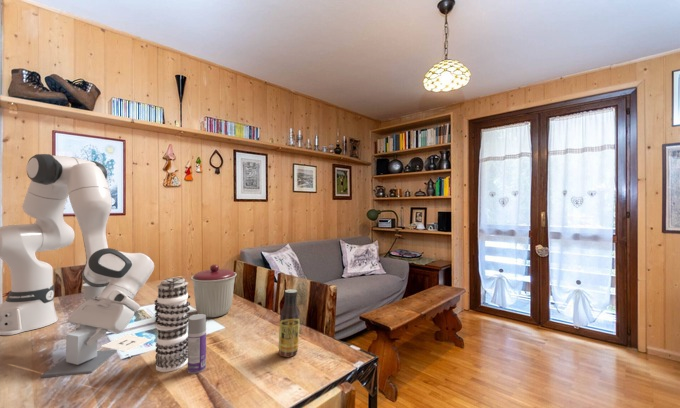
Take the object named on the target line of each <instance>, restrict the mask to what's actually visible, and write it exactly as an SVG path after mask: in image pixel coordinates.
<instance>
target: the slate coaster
mask: <svg viewBox="0 0 680 408" xmlns="http://www.w3.org/2000/svg"><path fill="white" fill-rule="evenodd" d="M117 351H118V350H116V349H109V350H97V356H96V357H94V358H92V359H90V360H87V361H85V362H83V363H81V364H79V365H77V364H73V363H69V362H66V357H65V358H64V359H62V360H61V361H59V362H58V363H56V364H55V365H53V366H51V368H49V369H48V370H46V371H45V372H43V373H42V374H41V375H40V377H41V378H40V379H44V378H45V379H46V378H54V377H55V378H56V377H59V376H73V375H85V374H93V372H95V371H96V370H97V369H98V368H100V366H102V365H103V364H104V363H105V362H106V361H108V360H109V359H110V358H111V357H112V356H113V355H114V354H116V353H117Z"/></svg>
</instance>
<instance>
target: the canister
mask: <svg viewBox="0 0 680 408" xmlns="http://www.w3.org/2000/svg"><path fill="white" fill-rule="evenodd" d="M236 277H237V272H235V271H234V270H232V269H226V268H220V266H219V265H218V264H212V265H210V267H209V269H206V270H201V271H198V272H196V273H195V274H194V275H192V276H191V277H190V279H191V280H192V284H193V294H194V302H195V308H196V313H197V314H205V315H206V319H207V318H218V317H221V316H225V315H226V314H228V313H229V311H230V310H231V308H232V306H233V305H232V303H233V298H234V288H235V280H236Z"/></svg>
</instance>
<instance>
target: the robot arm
mask: <svg viewBox="0 0 680 408" xmlns="http://www.w3.org/2000/svg"><path fill="white" fill-rule="evenodd" d="M26 175H27V177H28V178H29V180H30V183H29V185H28V188H27V192H26V194H25V197H24V199H23V203H22V206H21V207H22V210H23V212H24V213H25V214H26V215H27V216H29V217H30V218H33V219H36V220H35V222H34V223H28V224H8V225H3V226H0V259H1V260H2V261H3V262H4V263H5V264H6V265H7V267H8V269H9V272H10V280H11V281H10V283H11V284H10V285H11V289H10V290H9V291H8V292H5V293H2V298H4V297H6V298H5V301H3V302H2V303H1V304H0V336H13V335H16V334H20V333H23V332H27V331H33V330H36V329H40V328H44V327H47V326H49V325H52V324H54V323H56V322H57V321H58V320H59V318H58V316H57V311H56V307H55V303H54V297H55V285H54V283H53V282H54V281H53V280H54V267H53V266H52V265H51V264H50V263H48V262H46V261H43V260H39V259H38V258H37V256H36V253H38V252H39V253H40V252H47V251H55V250H59V249H63V248H65V247H69V246H70V245H72V244H73V243H74V241H75V236H76V234H75V233H76V232H75V230H74V229H73V227H72V226H70V225H69V224H68V223H67V222H66V221H65V218H64V211H65V207H66V203H67V200H68V199H69V202H70V205H71V208H72V211H73V214H74V216H75V217H76V218H75V219H76V221H77V223H78V226H79V228H80V231H81V234H82V240H83V247H84V253H85V258H86V262H85V265H84V267H83V270H82V274H81V275H82V279H83V281H84V284H85V283H87V284H88V285H90V286H92V287H105V286H106V287H105V289H104V290H103V291H102V292H101V293H100V295H99V296H98V297H93V298H91V299H89V300H87V301H86V300H85V301H83V303H81V304H80V305H79V306H78V307H77V308H76V309H75V310H74V311H73V312H72V313H71V314H70V315H69V316H68V319H67V322H68V323H70V324H71V325H74V328H73V331H72V332H74V331H76V330H79V329H82V328H85V327H88V328H93V329H97V330H96V333H95V334H94V335H93V336H92V337H90V338H89V337H88V338H87V340H86V341H85V342H84V344H86V345H88V346H92V345H93V344H94V343H95V342H96V340H97V341H98V340H100V339H101V338H102V337H104V336H105V334H106V333H112V334H118V335H119V334H120V333H121V332H123V331H124V330H126V329H127V326H128V325H129V323H130V322H131V321H132V319H133V318H134V316H135V313H136V312H138V311H139V310H140V308H141V305H140V304H139V303H138V302H136V301H135V300H134V298H135V297H136V295H137V293H138V291H139V290H140V289H141V288H142V287H143V286H144V285H145V284H146V283H147V281H148V280H149V278H150V277H151V276H152V273H153V271H154V269H155V263H154V261H153V259H152V258H151V257H150V256H149V255H147V254H145V253H143V252H133V253H132V252H125V251H120V250H117V249H116V248H109V245H108V240H107V233H106V232H107V231H106V230H107V225H108V221H109V217H110V214H111V212H112V195H111V190H110V188H109V184H108V180H107V179H108V171H107V168H106V167H105V165H104V164H103V163H100V162H97V161H95V160H88V159H84V158H79V157H75V156H65V155H64V156H63V155H51V154H49V153H39V154H38V153H37V154H35V155H33V156H32V157H30V158H29V160H28V161H27V165H26ZM92 299H93V300H92Z"/></svg>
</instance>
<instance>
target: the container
mask: <svg viewBox="0 0 680 408" xmlns="http://www.w3.org/2000/svg"><path fill="white" fill-rule="evenodd" d="M188 319H189V322H188V324H187V332H188V341H187V342H188V346H187V348H188V363H187V373H188V374H191V375H193V374H199V373H202V372H203V371H205V370H206V368H207V318H206V315H205V314H198V313H197V314H192V315H189V317H188Z"/></svg>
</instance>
